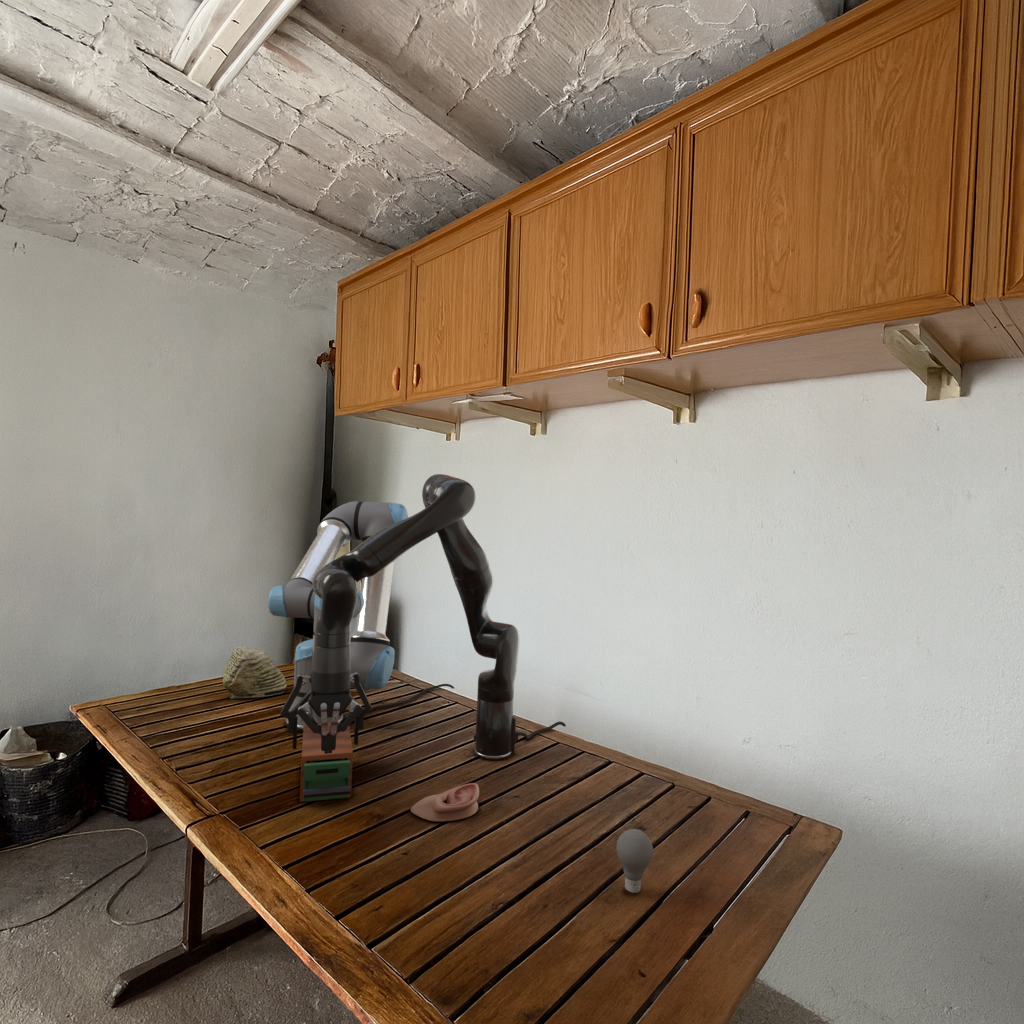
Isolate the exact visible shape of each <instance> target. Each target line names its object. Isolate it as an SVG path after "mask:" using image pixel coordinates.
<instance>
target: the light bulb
mask: <svg viewBox="0 0 1024 1024" xmlns="http://www.w3.org/2000/svg"><path fill="white" fill-rule="evenodd" d="M615 849H616V854H617V857H618V859H619V861H620V863H621V865H622V867H623V873H624V874H623V875H624V876H625V878H624V888H625V890H627V891H628V892H630V893H634V894H635V893H639V892H640V891H641V889H642V887H641V886H642V879H643V877H644V875H645V871H646V868H647V867H648V866H649V864H650V863H651V861H652V859H653V855H654V847H653V843H652V841H651V838H649V836H648V835H647V834H646V833H645V832H643V831H642V830H641V829H636V828H629V829H627V830H625V831H623V832H622V833H621V834H620V835H619V837H618V839H617V841H616V847H615Z"/></svg>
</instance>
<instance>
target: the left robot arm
mask: <svg viewBox="0 0 1024 1024" xmlns="http://www.w3.org/2000/svg"><path fill="white" fill-rule="evenodd" d="M406 518H409V514H408V511H407V508H406V507H405V505H404V504H402V503H397V502H396V503H395V502H391V501H389V502H380V501H360V500H354V501H349V502H346V503H343V504H341V505H339V506H337V507H336V508H334V509H332V511H330V512H329V513H327V514H326V515H325V517H323V519H322V520H321V521H320V523H319V525H318V526H317V531H316V533H317V535H316V537H315V538H314V540H313V541H312V543H311V545H310V546H309V548H308V549H307V552H306V553H305V555H304V556H303V558H302V560H301V561H300V563H299V564H298V566H297V568H296V569H295V571H294V572H293V574H292V576H291V577H290V579H289V581H288V582H287V584H286V585H284V584H282V585H276V586H273V587H272V588H271V589H270V591H269V594H268V598H267V607H268V611H269V613H270V614H271V615H272V616H275V617H280V618H281V617H282V618H286V619H287V618H291V619H292V618H296V619H313V631H312V632H313V634H312V639H307V640H304V641H302V642H300V643H298V644H297V645H296V647H295V655H294V659H293V661H294V670H293V671H294V672H293V688H292V690H291V692H290V693H289V696H288V697H287V699H286V701H285V703H284V704H283V706H282V708H281V710H280V715H279V716H280V718H283V719H284V718H285V726H286V728H287V733H288V734H293V735H292V750H297V744H298V743H297V741H298V732H301V733H303V727H304V725H306V723H305V722H304V721H303V720H302V718H301V717H300V716H299V715H298V713H297V712H298V707H299V706H301V705H302V706H303V705H304V704H305V703H307V702H308V698H309V696H310V694H311V682H312V657H313V650H314V639H315V623H316V620H317V618H318V617H319V616H321V611H322V599H321V598H319V597H318V596H317V595H316V594H315V592H314V590H313V586H312V584H313V579H314V577H315V575H316V574H317V572H318V571H319V570H320V569H321V568H323V567H324V566H325V565H327V564H328V563H330V562H332V561H333V560H335V559H337V558H338V557H337V556H338V555H339V553H340V551H341V549H342V548H343V547H345V546H346V545H347V544H348V543H349V542H350V541H361V543H363V542H364V541H365V540H367V539H368V538H369V537H371V536H372V535H373V534H375V533H376V532H378V531H379V530H381V529H383V528H385V527H387V526H389V525H391V524H394V523H396V522H399V521H401V520H404V519H406ZM395 561H396V560H394V561H393V562H392V563H391V564H389V565H388V566H387V567H385V568H384V569H383V570H382V571H380V572H379V573H378V574H376V575H374V576H372V577H366V578H363V579H361V584H360V590H359V589H357V600H356V605H355V609H354V614H353V617H352V619H354V618H355V617H356V618H355V625H354V626H355V627H354V631H353V632H352V633H351V641H350V648H351V674H350V689H355V690H356V692H357V694H358V696H359V698H360V699H361V703H362V704H363V707H362V706H361V708H362V710H361V712H360V713H359V714H358V715H357V717H356V718H355V719H354V730H353V743H354V746H359V730H363V729H364V722H365V716H366V715H367V714H371V713H372V712H373V710H376V709H382V708H388V707H394V706H399V705H403V704H406V703H408V702H411V701H413V700H414V699H416V698H418V697H419V696H421V695H423V694H424V693H426V692H428V691H432V690H435V689H439V688H441V687H448V688H451V689H452V690H454V689H455V687H454V686H453V685H452V684H450V683H441V684H437V685H434V686H430V687H427V688H424V689H423V690H421V691H420V692H418V693H415V694H414V695H413V696H411V697H410V698H407V699H404V700H402V701H398V702H392V703H386V704H379V705H373V706H372V704H371V702H370V701H369V698H368V696H367V694H366V692H365V690H366V691H369V690H382V689H383V688H384V687H385V686H386V685H387V684H388V682H389V681H390V678H391V675H392V672H393V669H394V664H395V657H396V656H395V655H396V653H395V651H396V650H395V648H394V647H393V646H390V645H391V641H390V639H389V638H388V637H387V634H386V632H387V625H388V617H389V616H388V615H389V607H390V600H391V593H392V584H393V577H394V569H395ZM352 700H354V701H355V702H356V703H359V702H358V701H357V700H356V699H355V697H353V696H352ZM310 710H311V712H310V715H311V716H312V717H313V718H314V720H315V721H316V722H317V723H318V724H321V717H319V716H317V714H316V713H315V712H314V710H313V709H312V708H311V706H310ZM344 713H349V708H346V710H345V711H344V712H343V714H342V715H341V716H339V718H338V723H340V722H341V721H342V720H343V719H344ZM327 721H328V723H331V717H329V718H327Z"/></svg>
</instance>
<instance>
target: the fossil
mask: <svg viewBox="0 0 1024 1024" xmlns="http://www.w3.org/2000/svg"><path fill="white" fill-rule="evenodd" d="M222 676H223V677H222V685H223V687H224V688H225V690H226V691H228V693H229V698H230V699H250V698H264V697H271V696H275V695H281V694H284V693H285V691H286V689H287V687H288V686H287V680H286V678H285V676H284V674H283V673H282V672H281V669H279V668H278V667H277V665H276V663H275V662H274V660H273V659H272V658H271V657H270V656H269V655H268V654H267V653H266V652H265V650H264V649H263V648H260V647H258V648H251V647H247V646H246V647H245V646H238V647H237V648H236V649H235V650H233V651H232V653H231V656H230V657H229V659H228V660H227V663H226V666H225V668H224V671H223V675H222Z"/></svg>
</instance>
